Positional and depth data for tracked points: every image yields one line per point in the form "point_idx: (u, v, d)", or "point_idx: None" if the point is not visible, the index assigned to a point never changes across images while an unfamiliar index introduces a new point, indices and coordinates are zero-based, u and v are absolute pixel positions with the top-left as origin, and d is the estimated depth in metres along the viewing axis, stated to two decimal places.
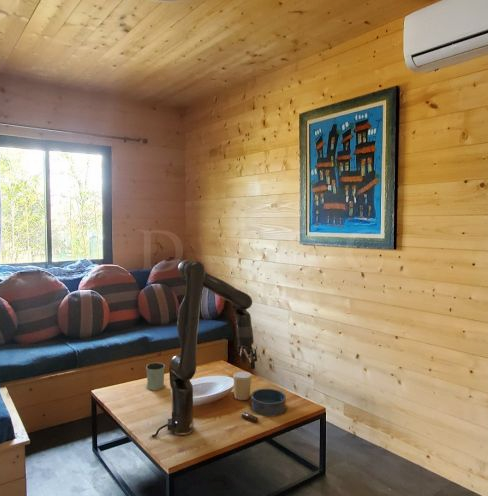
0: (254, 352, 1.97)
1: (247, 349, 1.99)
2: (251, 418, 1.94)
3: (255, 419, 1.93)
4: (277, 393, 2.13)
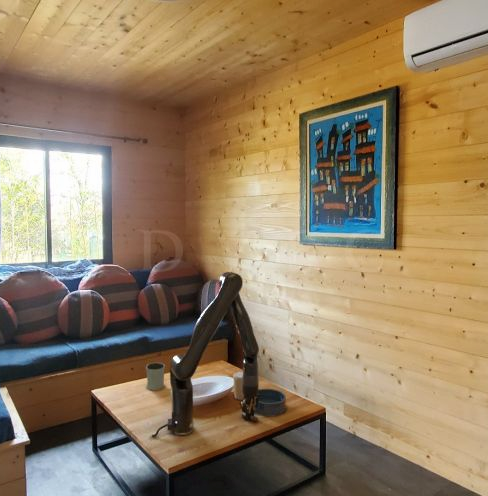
0: (242, 406, 1.90)
1: None
2: (251, 418, 1.94)
3: (255, 419, 1.93)
4: (277, 393, 2.13)
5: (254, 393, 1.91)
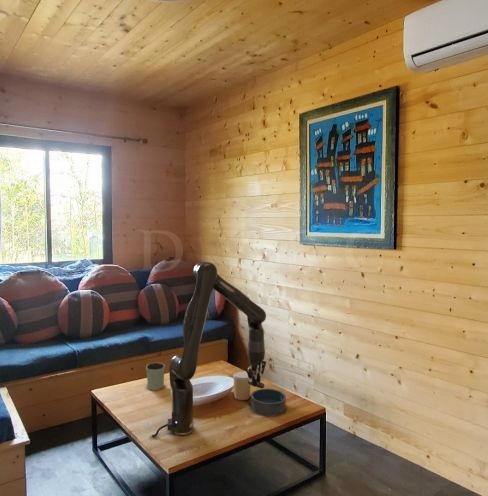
0: (248, 371, 1.92)
1: None
2: (257, 384, 1.96)
3: (261, 385, 1.95)
4: (277, 393, 2.13)
5: (260, 359, 1.93)
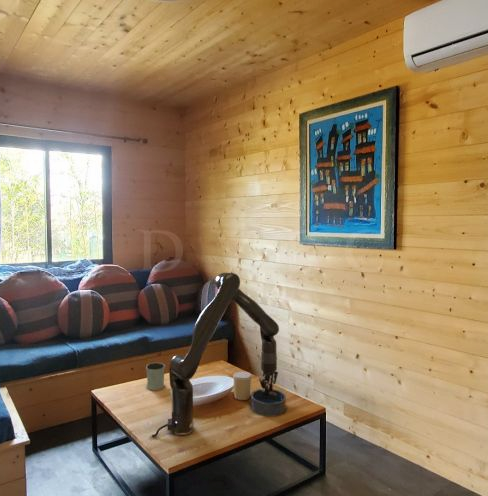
0: (262, 382, 2.02)
1: None
2: (270, 394, 2.06)
3: (274, 394, 2.04)
4: (277, 393, 2.13)
5: (273, 370, 2.03)
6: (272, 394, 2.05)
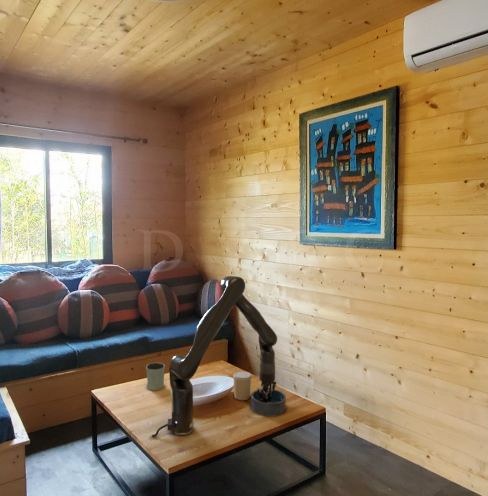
0: (260, 392, 2.01)
1: None
2: None
3: None
4: (277, 393, 2.13)
5: (271, 380, 2.02)
6: None
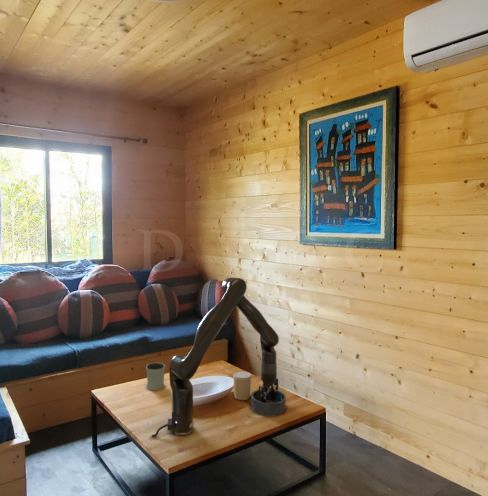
0: (261, 389, 2.01)
1: None
2: None
3: None
4: (277, 393, 2.13)
5: (273, 380, 2.03)
6: None
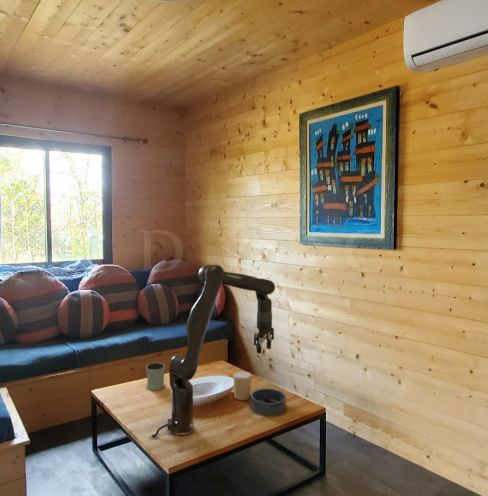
0: (256, 336, 2.06)
1: None
2: None
3: None
4: (277, 393, 2.13)
5: (268, 328, 2.07)
6: None
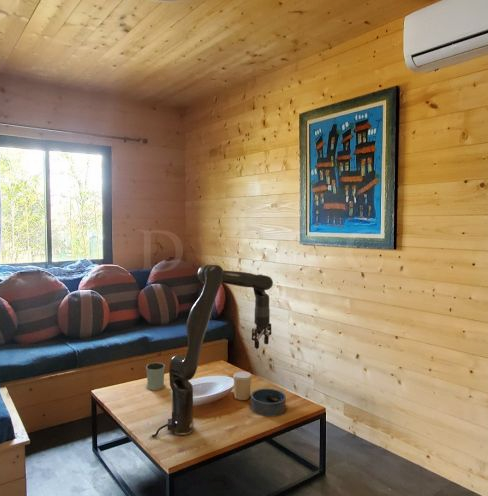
0: (254, 331, 2.08)
1: None
2: None
3: None
4: (277, 393, 2.13)
5: (266, 323, 2.09)
6: None
